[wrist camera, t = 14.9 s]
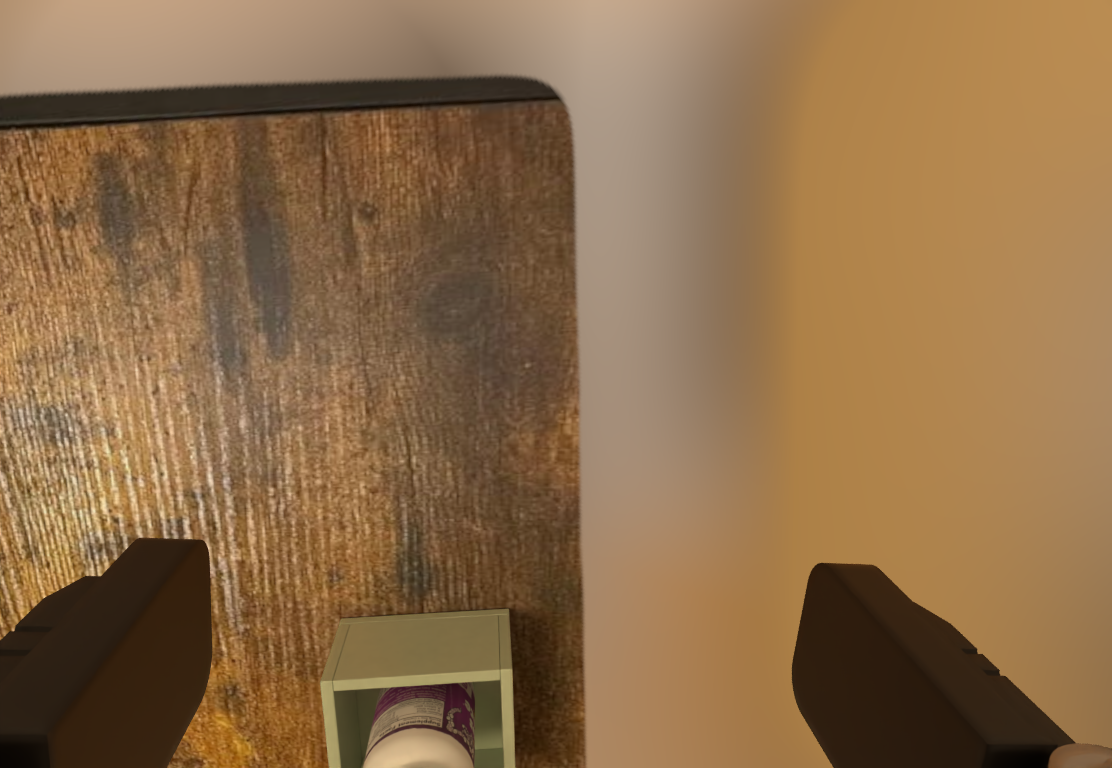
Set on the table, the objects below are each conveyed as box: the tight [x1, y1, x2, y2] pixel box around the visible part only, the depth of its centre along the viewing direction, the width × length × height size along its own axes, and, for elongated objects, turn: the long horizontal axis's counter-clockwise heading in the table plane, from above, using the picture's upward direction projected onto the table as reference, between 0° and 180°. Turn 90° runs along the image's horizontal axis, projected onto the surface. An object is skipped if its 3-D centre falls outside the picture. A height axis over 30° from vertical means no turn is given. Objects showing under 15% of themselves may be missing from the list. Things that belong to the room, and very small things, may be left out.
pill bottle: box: [363, 682, 475, 768], centre depth 38 cm, size 5×5×10 cm
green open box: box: [320, 609, 516, 768], centre depth 41 cm, size 9×9×6 cm
